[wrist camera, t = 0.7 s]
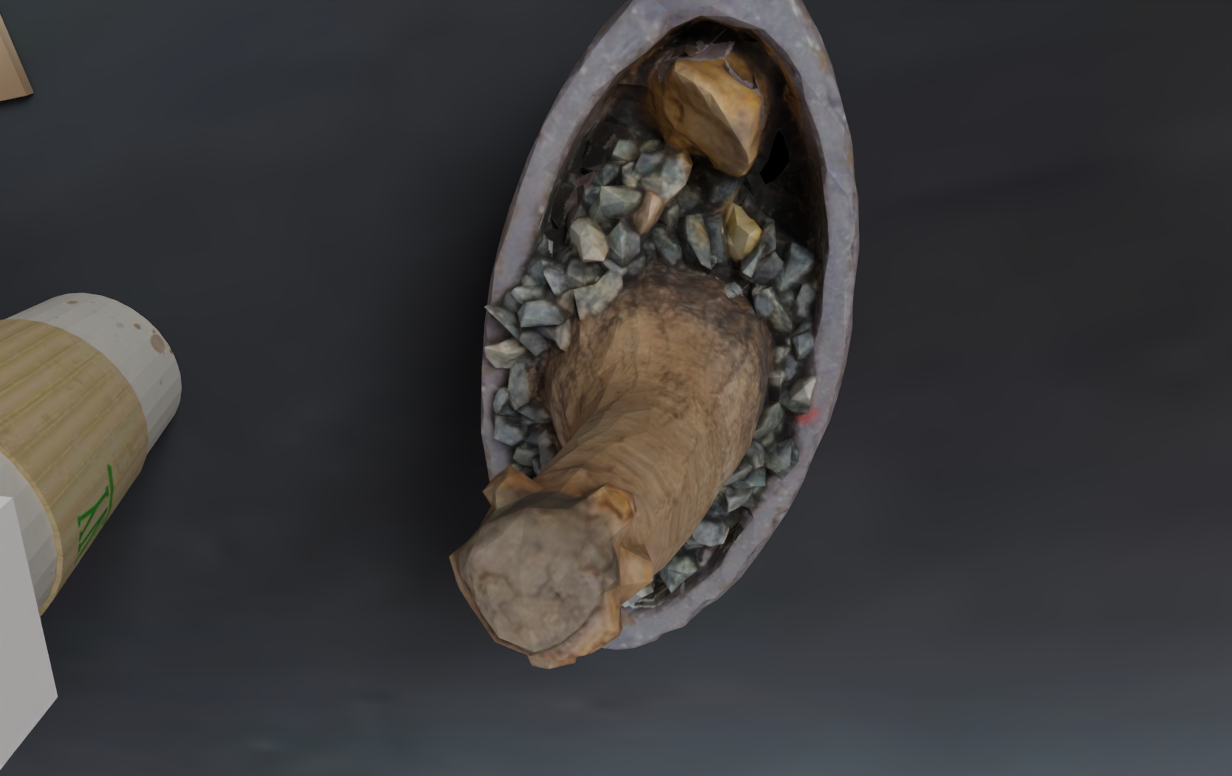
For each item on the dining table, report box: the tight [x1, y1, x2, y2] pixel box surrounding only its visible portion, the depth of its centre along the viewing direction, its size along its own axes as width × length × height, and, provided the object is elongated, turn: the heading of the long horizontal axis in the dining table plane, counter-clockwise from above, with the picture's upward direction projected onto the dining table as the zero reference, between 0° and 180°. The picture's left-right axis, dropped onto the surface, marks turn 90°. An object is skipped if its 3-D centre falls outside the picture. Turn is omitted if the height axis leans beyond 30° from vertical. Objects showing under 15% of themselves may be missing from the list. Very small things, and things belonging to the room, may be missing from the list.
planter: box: [449, 0, 859, 669], centre depth 27 cm, size 15×17×20 cm
